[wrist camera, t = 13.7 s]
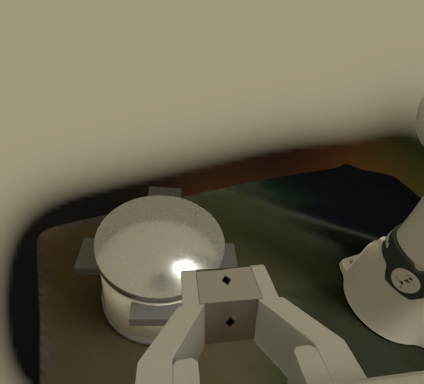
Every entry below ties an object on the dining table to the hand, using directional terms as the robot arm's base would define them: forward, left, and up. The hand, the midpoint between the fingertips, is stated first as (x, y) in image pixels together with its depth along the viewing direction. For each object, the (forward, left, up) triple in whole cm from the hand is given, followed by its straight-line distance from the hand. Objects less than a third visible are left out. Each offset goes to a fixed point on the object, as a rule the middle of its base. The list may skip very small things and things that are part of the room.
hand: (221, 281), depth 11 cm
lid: (-8, -19, -22) cm, 30 cm away
